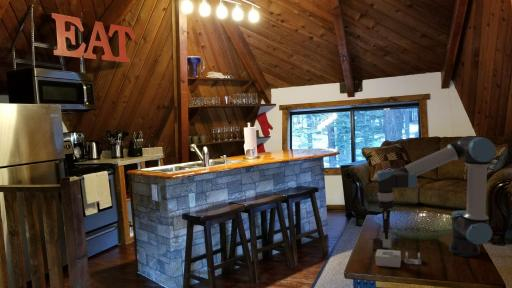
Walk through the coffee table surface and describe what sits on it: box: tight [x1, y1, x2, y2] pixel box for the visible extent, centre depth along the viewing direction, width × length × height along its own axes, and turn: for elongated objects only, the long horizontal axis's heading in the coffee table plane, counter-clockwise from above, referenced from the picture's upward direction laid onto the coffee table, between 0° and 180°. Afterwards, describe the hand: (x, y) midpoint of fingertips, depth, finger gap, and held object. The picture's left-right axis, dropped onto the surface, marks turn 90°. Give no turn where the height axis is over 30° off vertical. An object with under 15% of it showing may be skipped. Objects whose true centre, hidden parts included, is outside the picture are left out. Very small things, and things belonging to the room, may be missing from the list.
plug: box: [382, 228, 392, 249], centre depth 209 cm, size 4×3×9 cm
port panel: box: [374, 249, 402, 268], centre depth 210 cm, size 12×10×6 cm
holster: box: [404, 251, 422, 265], centre depth 209 cm, size 8×6×5 cm
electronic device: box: [372, 237, 391, 252], centre depth 229 cm, size 4×10×8 cm, turn 44°
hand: (387, 243), depth 209 cm, fingers closed on plug, 3 cm apart
